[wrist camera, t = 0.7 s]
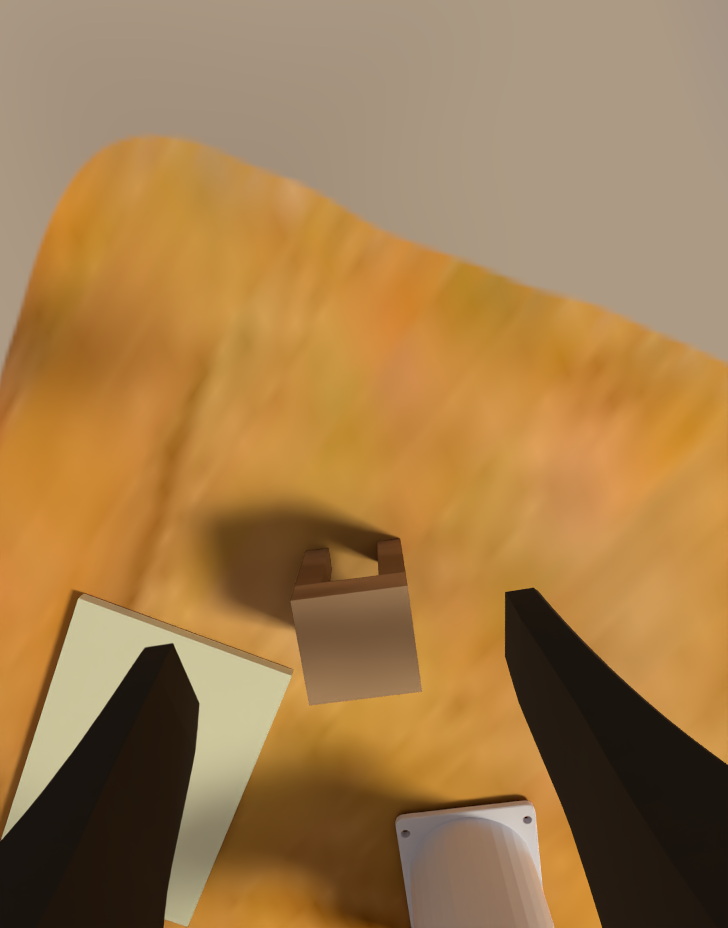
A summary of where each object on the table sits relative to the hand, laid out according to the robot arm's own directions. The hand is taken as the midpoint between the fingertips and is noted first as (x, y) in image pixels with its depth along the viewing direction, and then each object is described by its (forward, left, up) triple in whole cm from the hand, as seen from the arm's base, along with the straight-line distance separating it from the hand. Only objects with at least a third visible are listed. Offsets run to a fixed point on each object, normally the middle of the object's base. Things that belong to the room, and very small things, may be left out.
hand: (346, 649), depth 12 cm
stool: (-6, +1, -17) cm, 18 cm away
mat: (-15, +15, -17) cm, 27 cm away
